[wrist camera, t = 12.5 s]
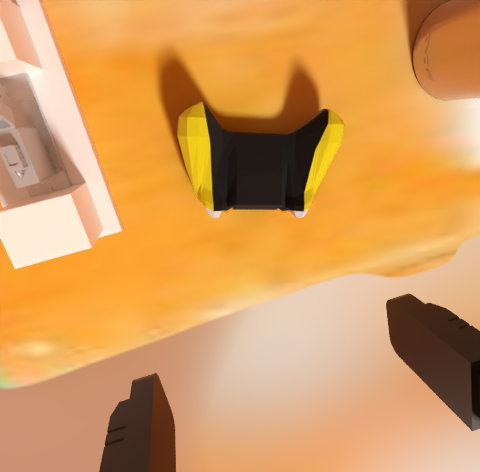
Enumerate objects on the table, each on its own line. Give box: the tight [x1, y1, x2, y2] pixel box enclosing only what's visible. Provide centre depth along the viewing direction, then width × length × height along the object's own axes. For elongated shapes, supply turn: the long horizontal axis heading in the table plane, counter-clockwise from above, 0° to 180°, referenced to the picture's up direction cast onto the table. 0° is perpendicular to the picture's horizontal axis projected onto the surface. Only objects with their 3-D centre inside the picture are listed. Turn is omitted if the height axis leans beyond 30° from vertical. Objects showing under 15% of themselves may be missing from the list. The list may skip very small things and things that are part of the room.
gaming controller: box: [177, 102, 345, 218], centre depth 34 cm, size 15×6×10 cm
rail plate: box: [0, 0, 124, 238], centre depth 32 cm, size 9×20×1 cm, turn 13°
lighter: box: [0, 100, 55, 188], centre depth 27 cm, size 7×2×8 cm, turn 14°
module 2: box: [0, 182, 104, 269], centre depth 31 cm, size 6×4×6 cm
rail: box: [0, 73, 72, 197], centre depth 31 cm, size 4×19×1 cm, turn 14°
